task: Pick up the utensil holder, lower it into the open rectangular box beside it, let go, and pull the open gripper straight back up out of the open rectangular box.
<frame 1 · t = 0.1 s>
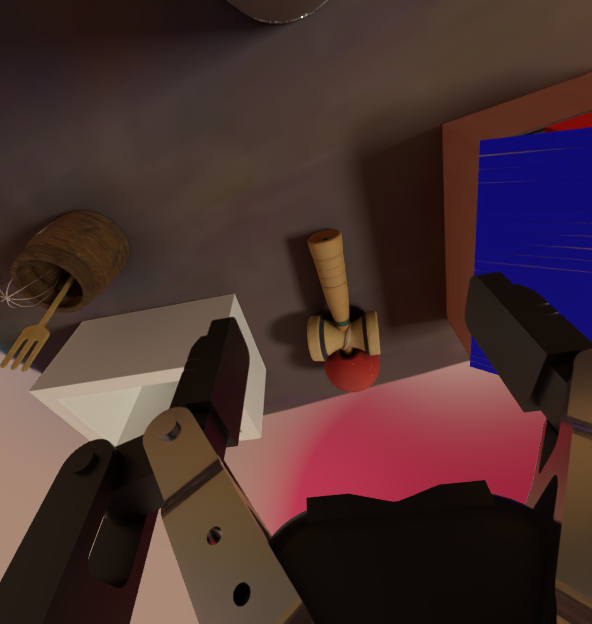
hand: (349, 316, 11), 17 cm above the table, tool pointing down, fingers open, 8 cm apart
utensil holder: (97, 240, 28), on the table
house: (510, 220, 28), on the table
open rectangular box: (181, 347, 36), on the table
kendama: (337, 303, 33), on the table
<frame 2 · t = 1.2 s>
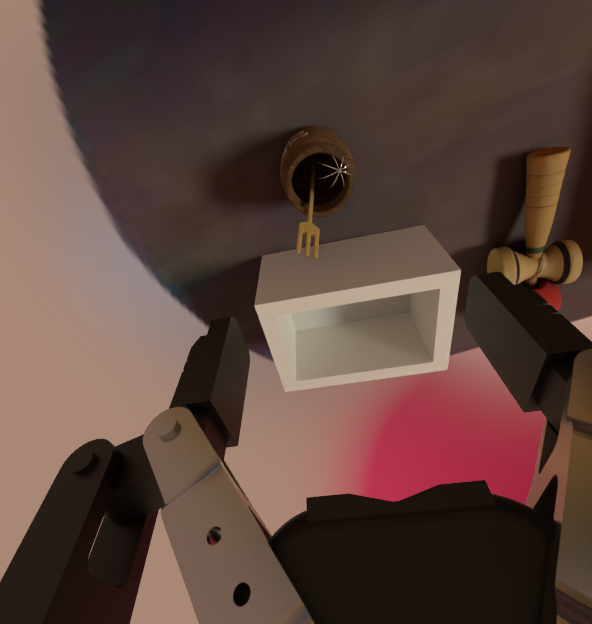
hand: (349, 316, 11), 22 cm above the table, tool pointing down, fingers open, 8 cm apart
utensil holder: (313, 162, 28), on the table
open rectangular box: (346, 287, 37), on the table
kendama: (517, 237, 33), on the table
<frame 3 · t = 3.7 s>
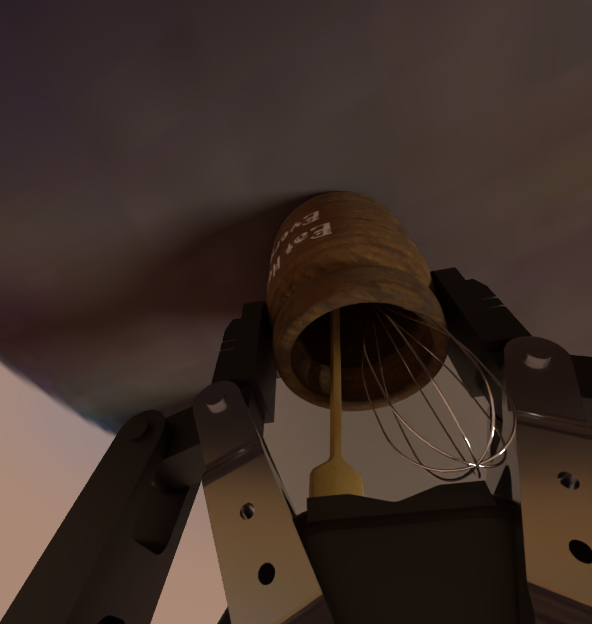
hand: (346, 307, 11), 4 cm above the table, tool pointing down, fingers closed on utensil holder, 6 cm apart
utensil holder: (333, 252, 15), on the table, touching gripper
open rectangular box: (379, 419, 23), on the table
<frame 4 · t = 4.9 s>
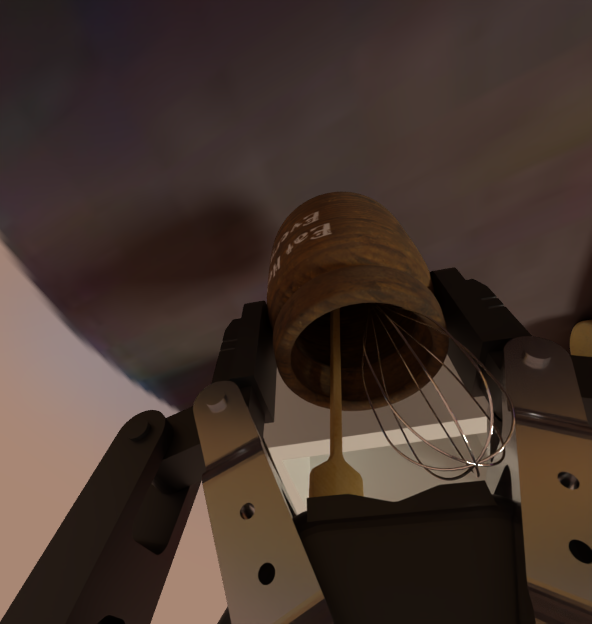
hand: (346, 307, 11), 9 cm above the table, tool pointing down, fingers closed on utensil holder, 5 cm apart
utensil holder: (333, 252, 15), point 5 cm above the table, touching gripper
open rectangular box: (375, 375, 27), on the table
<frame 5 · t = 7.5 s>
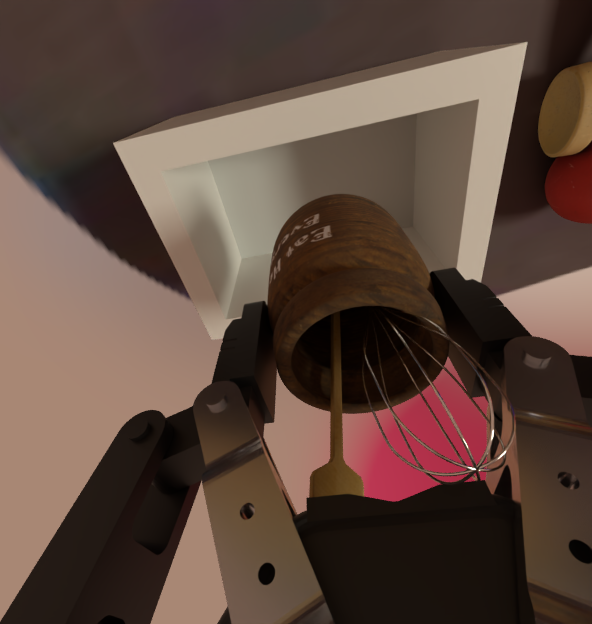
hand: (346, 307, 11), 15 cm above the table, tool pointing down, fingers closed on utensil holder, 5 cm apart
utensil holder: (334, 254, 15), point 11 cm above the table, touching gripper
open rectangular box: (315, 182, 23), on the table
when the fingers open (7 cm above the table, at t = 10.0 s): utensil holder drops 1 cm, resting on open rectangular box.
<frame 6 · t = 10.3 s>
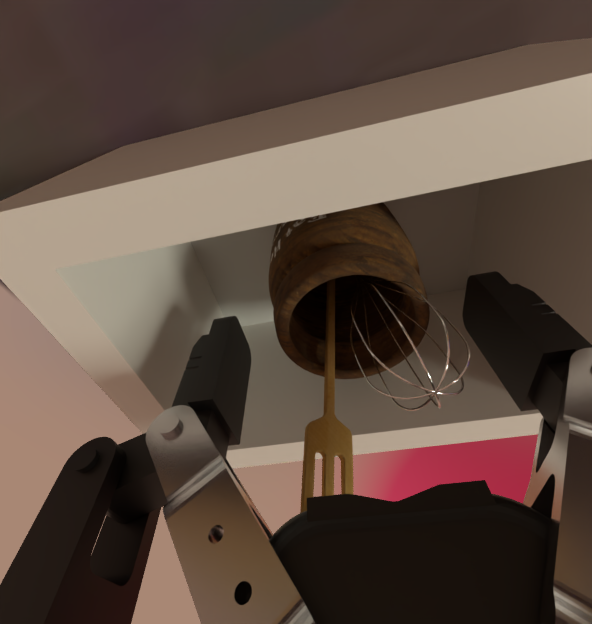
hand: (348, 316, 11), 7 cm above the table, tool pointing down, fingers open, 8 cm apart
utensil holder: (331, 239, 16), point 1 cm above the table, touching open rectangular box
open rectangular box: (329, 232, 17), on the table
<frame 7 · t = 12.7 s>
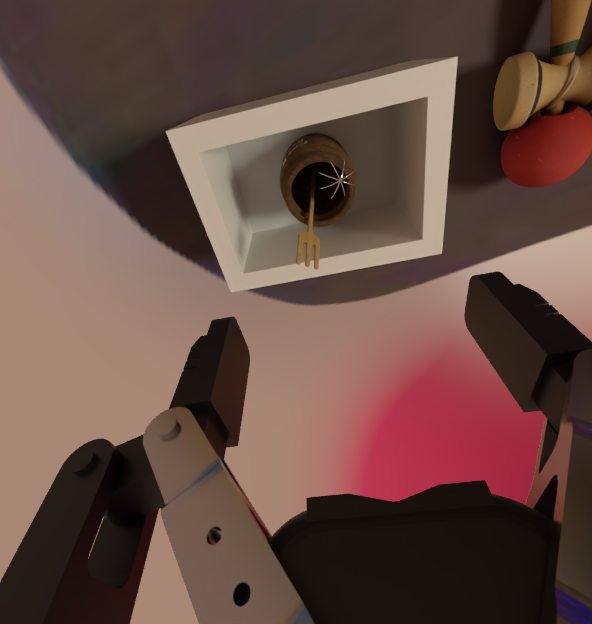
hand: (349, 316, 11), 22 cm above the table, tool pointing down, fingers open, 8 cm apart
utensil holder: (313, 170, 28), point 1 cm above the table, touching open rectangular box
open rectangular box: (313, 167, 29), on the table
kendama: (536, 54, 24), on the table
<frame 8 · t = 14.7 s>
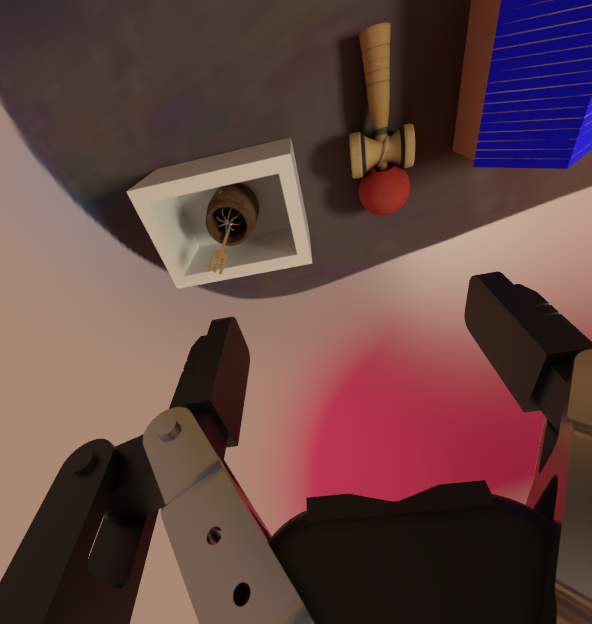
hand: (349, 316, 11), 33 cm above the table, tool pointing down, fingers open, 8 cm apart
utensil holder: (236, 204, 41), point 1 cm above the table, touching open rectangular box
house: (521, 35, 32), on the table
open rectangular box: (237, 202, 41), on the table
kendama: (374, 129, 37), on the table
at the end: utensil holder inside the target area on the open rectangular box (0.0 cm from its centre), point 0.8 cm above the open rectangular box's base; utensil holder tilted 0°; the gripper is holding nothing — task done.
